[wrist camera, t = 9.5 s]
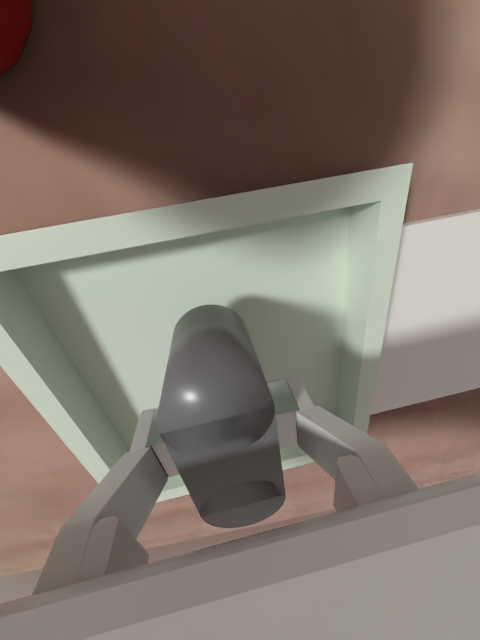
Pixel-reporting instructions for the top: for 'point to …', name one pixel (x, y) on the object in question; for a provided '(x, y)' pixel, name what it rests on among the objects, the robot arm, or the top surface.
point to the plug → (221, 420)
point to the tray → (202, 302)
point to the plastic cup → (13, 30)
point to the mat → (432, 313)
